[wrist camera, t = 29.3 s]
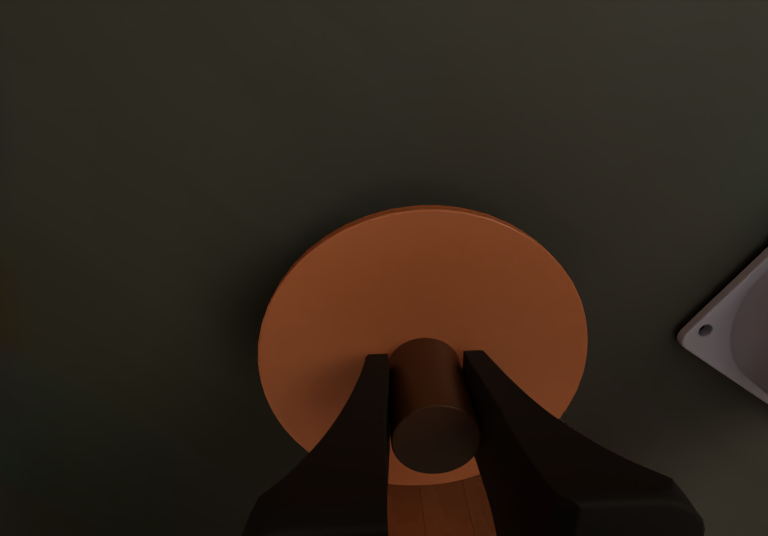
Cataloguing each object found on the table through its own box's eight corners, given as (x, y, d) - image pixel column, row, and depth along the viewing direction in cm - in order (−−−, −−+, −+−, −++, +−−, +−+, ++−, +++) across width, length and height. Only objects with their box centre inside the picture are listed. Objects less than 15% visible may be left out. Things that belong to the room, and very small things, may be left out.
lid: (374, 127, 13) (376, 153, 9) (640, 308, 15) (732, 390, 11) (211, 387, 16) (161, 489, 12) (450, 498, 19) (471, 612, 15)
